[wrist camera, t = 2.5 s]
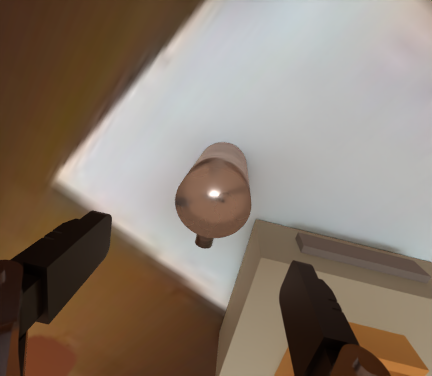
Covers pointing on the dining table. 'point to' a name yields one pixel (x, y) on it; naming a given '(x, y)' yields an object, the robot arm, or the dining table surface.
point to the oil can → (215, 194)
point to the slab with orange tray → (345, 294)
